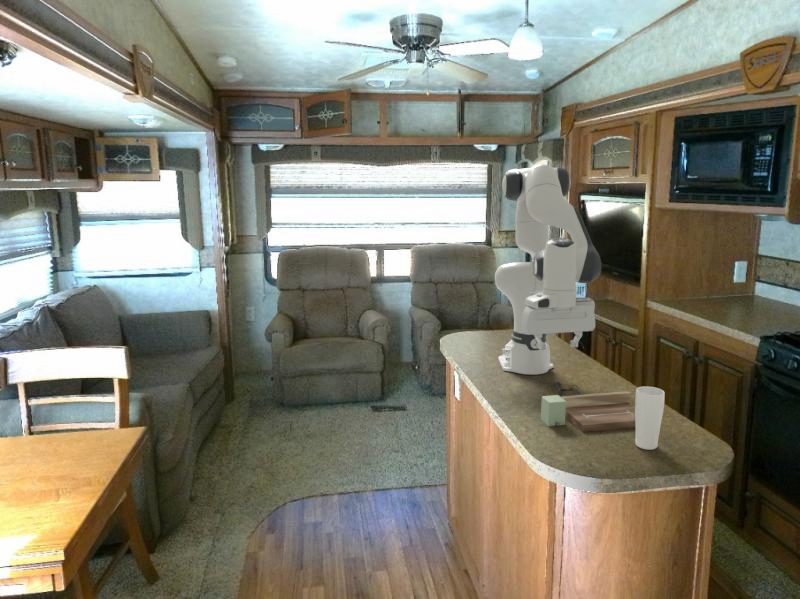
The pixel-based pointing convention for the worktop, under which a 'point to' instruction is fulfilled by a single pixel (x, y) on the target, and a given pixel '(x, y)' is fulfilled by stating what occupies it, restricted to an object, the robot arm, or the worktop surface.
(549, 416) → the block
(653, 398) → the drinking glass
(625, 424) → the walnut board
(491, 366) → the worktop surface
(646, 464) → the worktop surface
